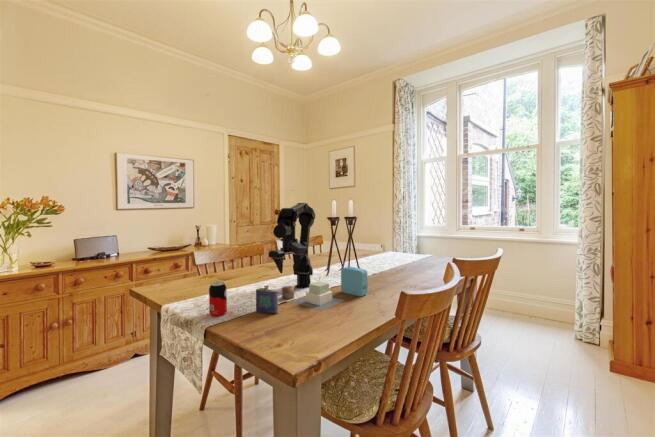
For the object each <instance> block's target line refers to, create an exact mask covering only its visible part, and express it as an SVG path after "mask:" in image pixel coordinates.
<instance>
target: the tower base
mask: <svg viewBox="0 0 655 437" xmlns="http://www.w3.org/2000/svg"><path fill="white" fill-rule="evenodd" d="M332 297H333V291H331V290H329V292H327V293H324V294H321V295H318V294H314V293H310V292H309V291H306V292H305V298H306V302H309V303H312V304H316V305H319V306H321V305H323V304H325V303H328V302H330V301H332Z"/></svg>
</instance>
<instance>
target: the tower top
mask: <svg viewBox="0 0 655 437" xmlns="http://www.w3.org/2000/svg"><path fill="white" fill-rule="evenodd" d="M308 290H309V291H308V292H310V293H314V294H318V295H321V294H324V293H327V292H329V291H330V283H329V282H324V281H319V280H318V281H315V282H310V284H309V287H308Z"/></svg>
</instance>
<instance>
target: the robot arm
mask: <svg viewBox="0 0 655 437" xmlns="http://www.w3.org/2000/svg"><path fill="white" fill-rule="evenodd" d="M277 216H278V217H277V220H276V224H277V225H275V226H274V228H273V231H272V232H273V236H274V237H275V238H277V239H280V242H282V243H281V244H282V247H280V249H272V250H271V249H270V250H269V251H268V257H269V258H270V259H271V260H273V261H274V264H275V265H276V267H277V270H278V271H279V273H280V274H283V271H284V270H283V269H284V268H283V267H284V266H283V265H284V260H285V259H286V258H285V256H286V255H292V259H293V265H292V270H293V276H296V284H295V285H294V288H299V289H306V288H309V284H311V276H313V274H314V269H313V266H312V264H311V259H310V257H309V244H310V234H311V227H312V226H313V225H314V223H315V219H316V213H315V210H314V209H313V208H312V207H311V206H309V204H308V203H307V202H298V203H296V204H295V205H293V206H291V207H283V208H282V207H281V209H280V211H279V213H278V215H277ZM296 222H298V223H299V225H300V234H299V235H300V236H299V240H298V238H296V227H297V224H296Z"/></svg>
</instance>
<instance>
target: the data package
mask: <svg viewBox="0 0 655 437" xmlns="http://www.w3.org/2000/svg"><path fill="white" fill-rule="evenodd" d="M340 272H341V273H340V290H341V292H342V293H345V294H348V295H352V296H357V297H363V296H366V295H367V294H368V271H367V269H365V268H359V267H352V266H346V267H342V268H341V270H340Z"/></svg>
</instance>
